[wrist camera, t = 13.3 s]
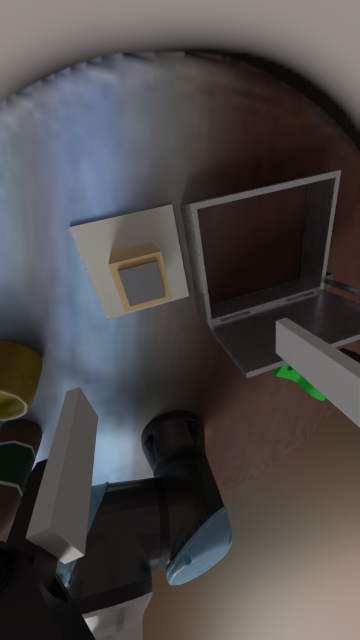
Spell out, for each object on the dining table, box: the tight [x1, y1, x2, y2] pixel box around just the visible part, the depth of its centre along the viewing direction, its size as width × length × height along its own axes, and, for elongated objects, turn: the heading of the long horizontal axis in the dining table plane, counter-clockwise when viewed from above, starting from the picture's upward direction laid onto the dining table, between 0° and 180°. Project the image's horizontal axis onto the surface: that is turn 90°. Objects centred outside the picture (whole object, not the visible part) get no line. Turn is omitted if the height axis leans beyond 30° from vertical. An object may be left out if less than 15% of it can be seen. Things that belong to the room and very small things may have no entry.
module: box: [108, 242, 172, 312], centre depth 29 cm, size 6×6×9 cm
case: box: [181, 170, 360, 378], centre depth 29 cm, size 23×18×17 cm
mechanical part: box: [271, 364, 326, 401], centre depth 50 cm, size 12×6×8 cm, turn 66°
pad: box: [69, 204, 189, 319], centre depth 33 cm, size 14×14×1 cm
